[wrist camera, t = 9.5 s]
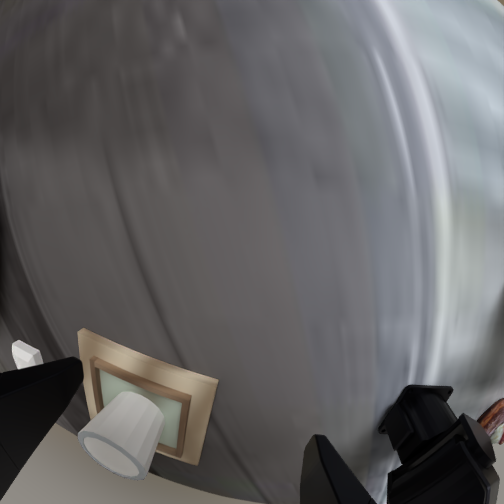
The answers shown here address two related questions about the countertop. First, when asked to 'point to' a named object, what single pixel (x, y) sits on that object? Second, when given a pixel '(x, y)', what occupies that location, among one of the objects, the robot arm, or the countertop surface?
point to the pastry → (494, 422)
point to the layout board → (150, 392)
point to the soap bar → (25, 355)
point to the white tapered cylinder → (124, 435)
